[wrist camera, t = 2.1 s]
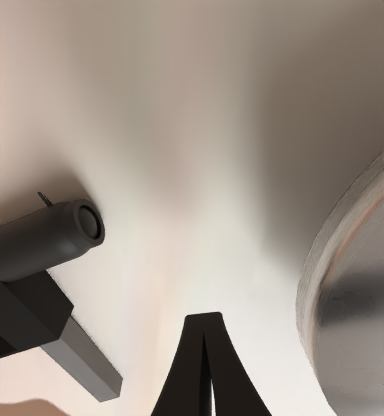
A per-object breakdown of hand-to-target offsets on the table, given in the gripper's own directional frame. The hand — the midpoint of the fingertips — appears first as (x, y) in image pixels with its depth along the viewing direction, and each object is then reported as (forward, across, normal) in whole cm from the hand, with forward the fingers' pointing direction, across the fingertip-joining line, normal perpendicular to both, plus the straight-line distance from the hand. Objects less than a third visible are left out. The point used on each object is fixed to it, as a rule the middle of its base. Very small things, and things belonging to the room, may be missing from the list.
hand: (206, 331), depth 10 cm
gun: (+7, +14, +4) cm, 16 cm away
